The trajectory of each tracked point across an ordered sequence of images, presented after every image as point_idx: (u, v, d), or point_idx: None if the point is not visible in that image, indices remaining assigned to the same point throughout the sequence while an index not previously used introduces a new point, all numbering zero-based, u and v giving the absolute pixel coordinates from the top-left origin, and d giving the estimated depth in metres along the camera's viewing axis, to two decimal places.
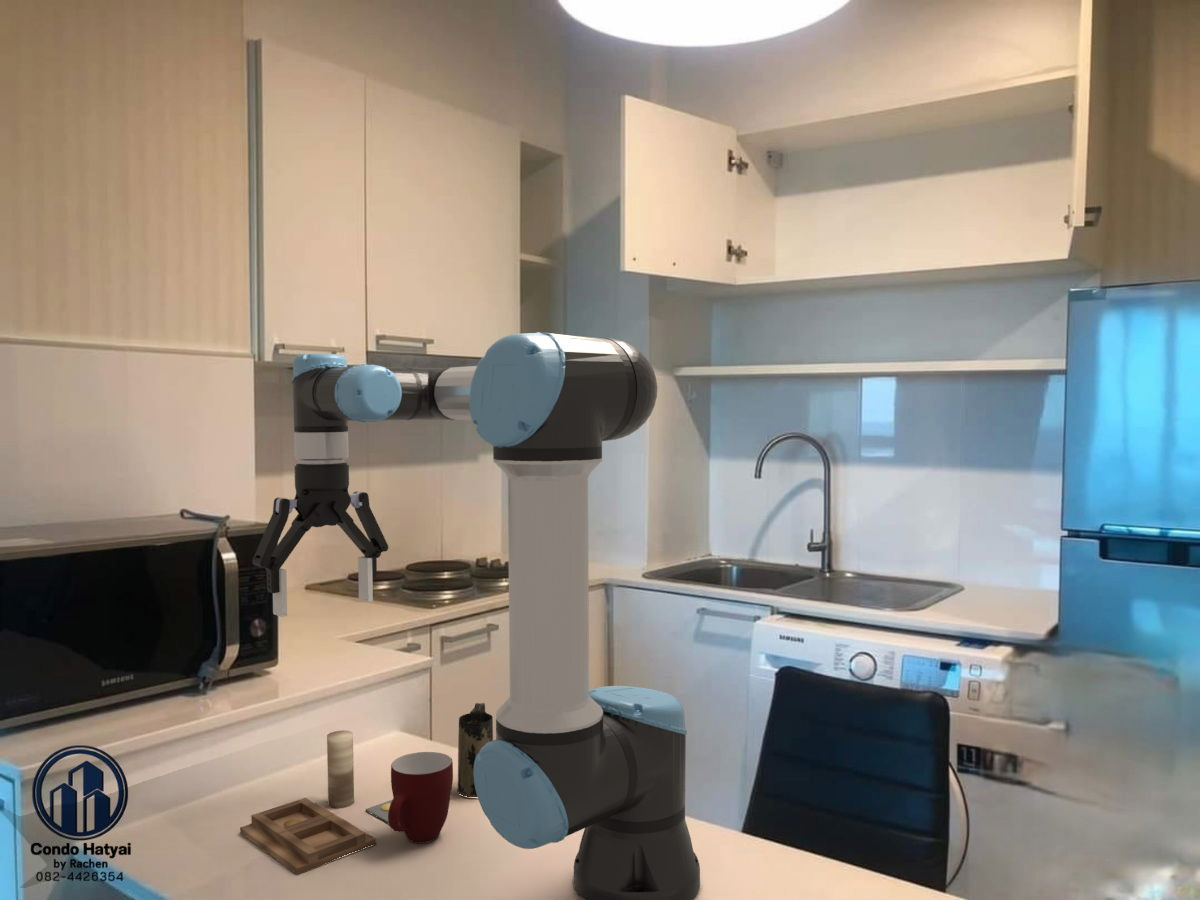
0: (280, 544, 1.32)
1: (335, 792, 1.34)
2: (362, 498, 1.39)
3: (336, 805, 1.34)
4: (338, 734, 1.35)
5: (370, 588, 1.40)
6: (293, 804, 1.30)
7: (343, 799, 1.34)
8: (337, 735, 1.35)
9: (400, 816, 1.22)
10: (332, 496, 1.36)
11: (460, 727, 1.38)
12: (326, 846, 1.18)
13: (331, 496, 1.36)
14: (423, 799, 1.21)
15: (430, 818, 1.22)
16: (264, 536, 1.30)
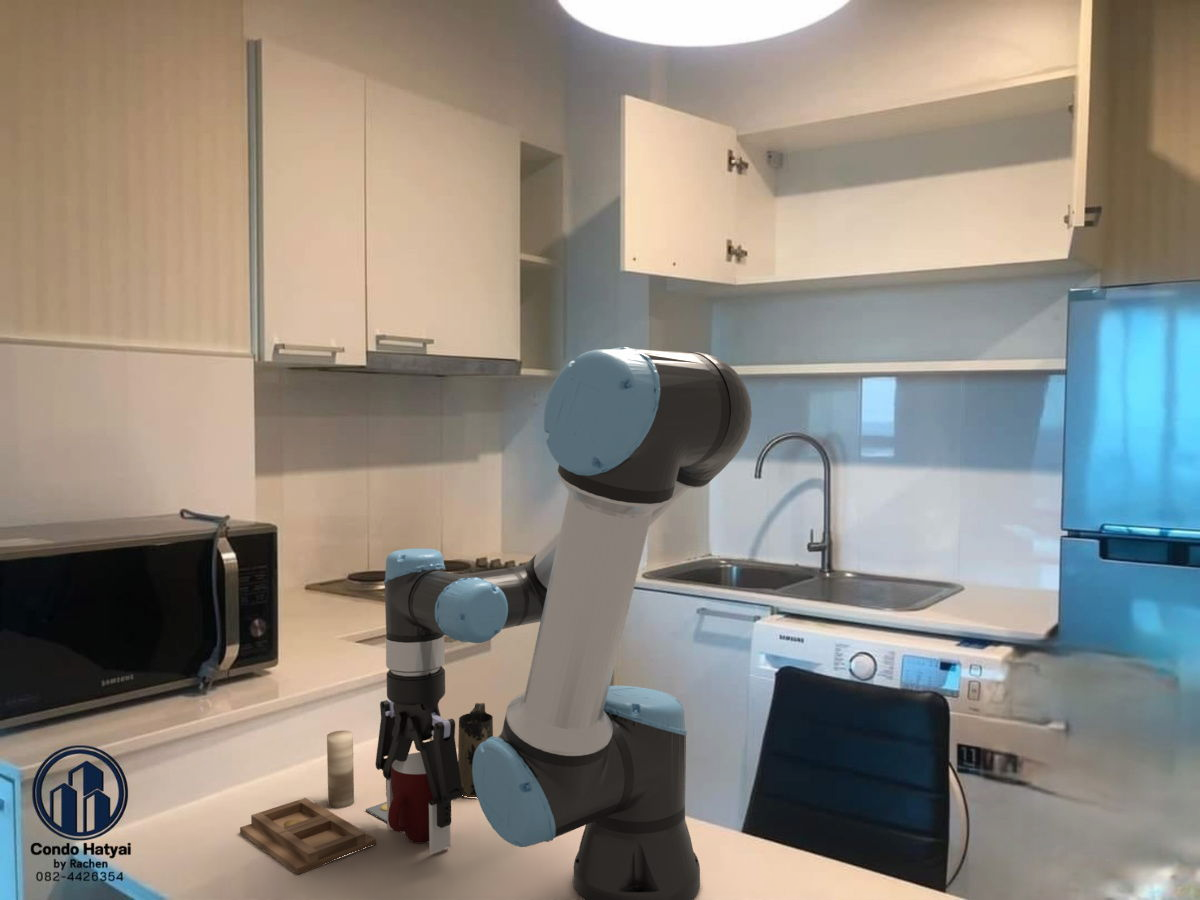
0: None
1: (335, 792, 1.34)
2: (435, 728, 1.18)
3: (336, 805, 1.34)
4: (338, 734, 1.35)
5: (431, 837, 1.19)
6: (293, 804, 1.30)
7: (343, 799, 1.34)
8: (337, 735, 1.35)
9: (400, 816, 1.22)
10: (414, 706, 1.21)
11: (460, 727, 1.38)
12: (326, 846, 1.18)
13: (413, 705, 1.21)
14: (423, 799, 1.21)
15: None
16: None
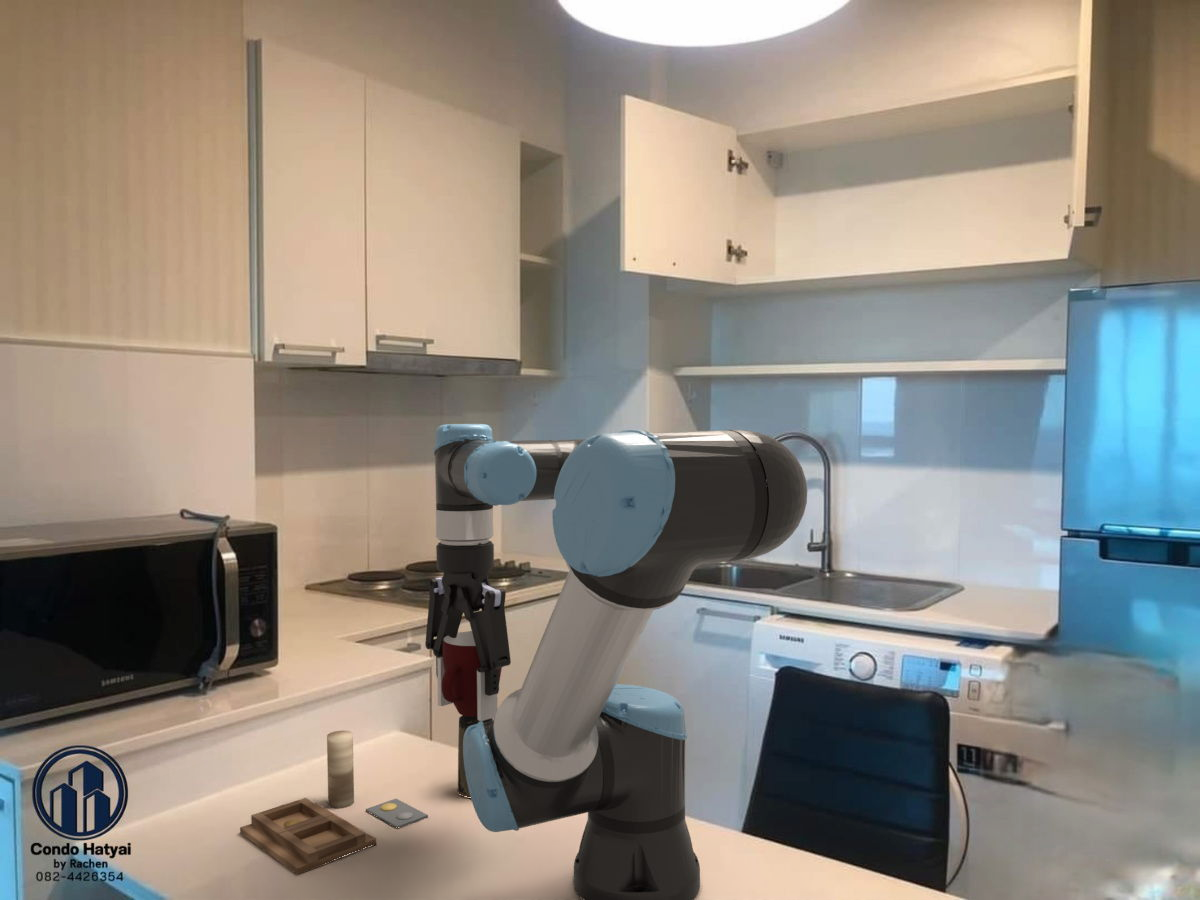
0: None
1: (335, 792, 1.34)
2: (486, 596, 1.20)
3: (336, 805, 1.34)
4: (338, 734, 1.35)
5: (479, 705, 1.21)
6: (293, 804, 1.30)
7: (343, 799, 1.34)
8: (337, 735, 1.35)
9: (452, 689, 1.23)
10: (464, 576, 1.23)
11: (460, 727, 1.38)
12: (326, 846, 1.18)
13: (464, 576, 1.23)
14: (476, 670, 1.22)
15: None
16: None
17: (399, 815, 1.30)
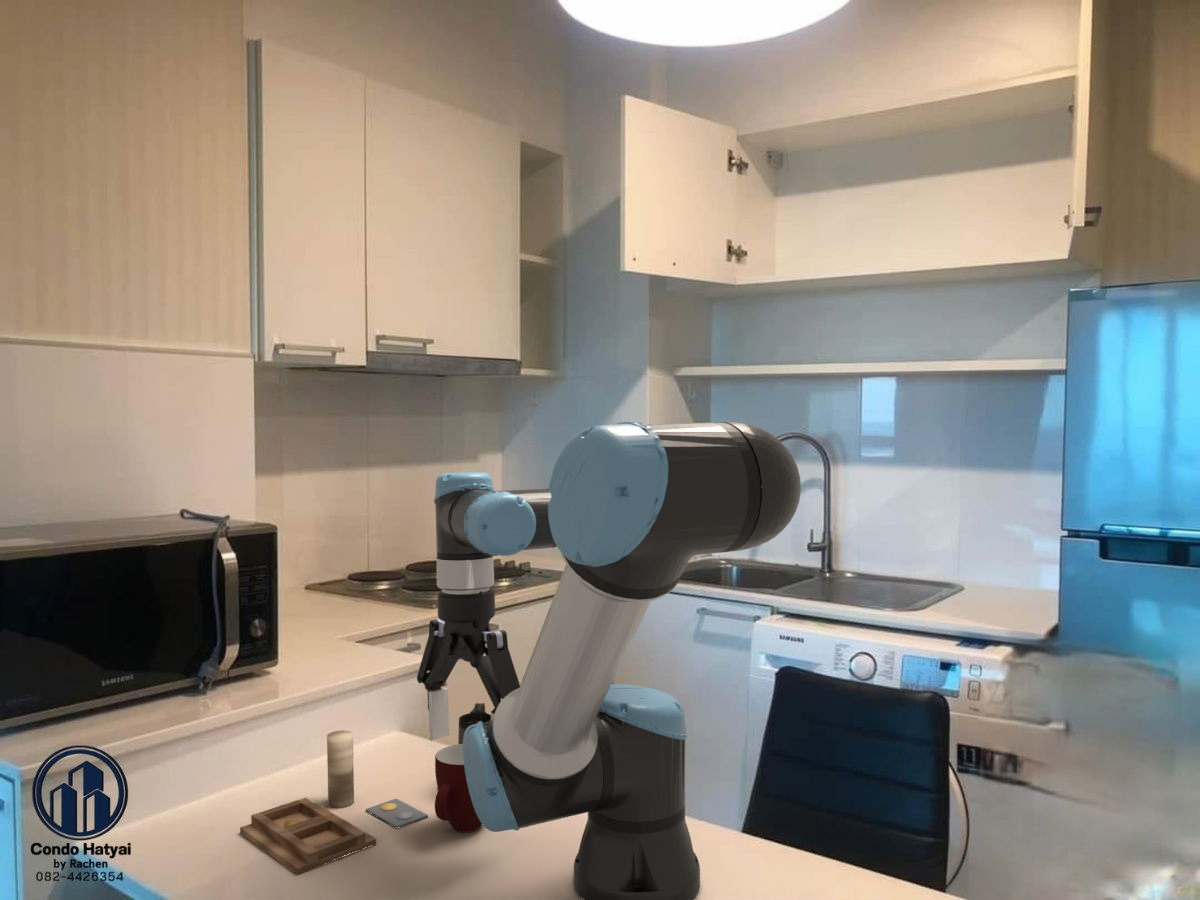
0: None
1: (335, 792, 1.34)
2: (487, 639, 1.20)
3: (336, 805, 1.34)
4: (338, 734, 1.35)
5: None
6: (293, 804, 1.30)
7: (343, 799, 1.34)
8: (337, 735, 1.35)
9: (445, 806, 1.25)
10: (464, 629, 1.23)
11: (460, 727, 1.38)
12: (326, 846, 1.18)
13: (463, 628, 1.23)
14: None
15: None
16: None
17: (399, 815, 1.30)
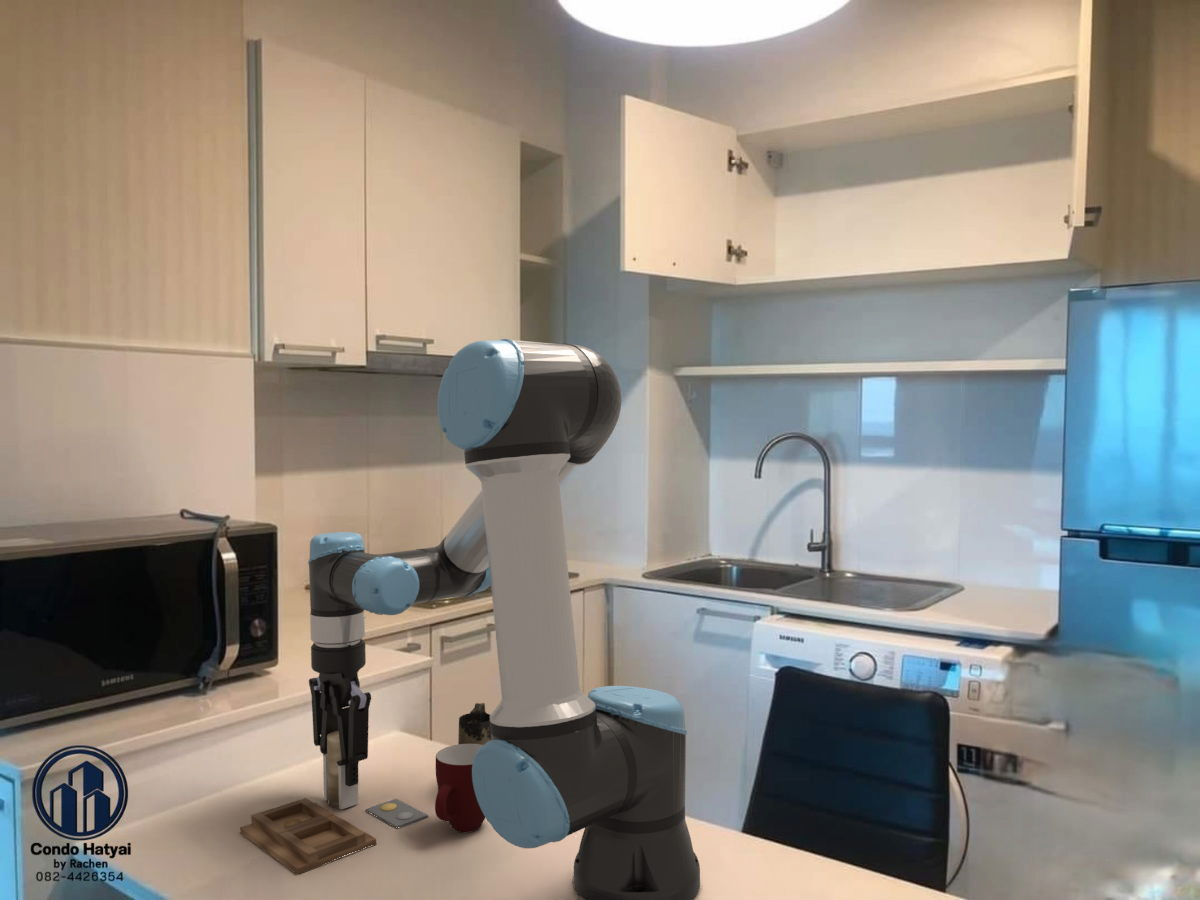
0: None
1: (335, 792, 1.34)
2: (352, 699, 1.30)
3: (336, 805, 1.34)
4: (338, 734, 1.35)
5: (340, 794, 1.33)
6: (293, 804, 1.30)
7: None
8: (337, 735, 1.35)
9: (445, 806, 1.25)
10: (337, 673, 1.33)
11: (460, 727, 1.38)
12: (326, 846, 1.18)
13: None
14: (468, 789, 1.24)
15: (474, 808, 1.25)
16: None
17: (399, 815, 1.30)
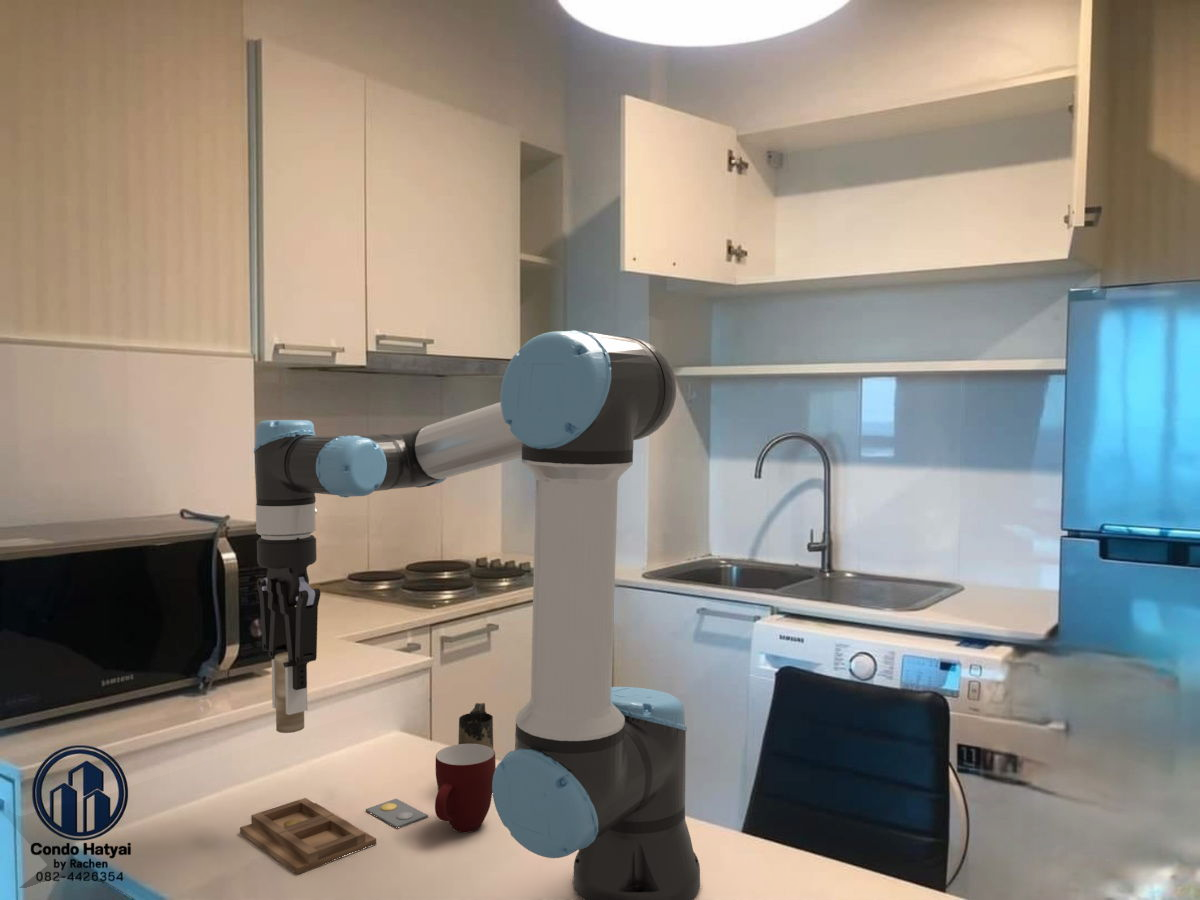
0: None
1: (283, 716, 1.25)
2: None
3: (284, 730, 1.25)
4: (287, 654, 1.26)
5: (286, 699, 1.24)
6: (293, 804, 1.30)
7: (292, 723, 1.25)
8: (286, 655, 1.26)
9: (445, 806, 1.25)
10: (285, 568, 1.24)
11: (460, 727, 1.38)
12: (326, 846, 1.18)
13: (284, 567, 1.24)
14: (468, 789, 1.24)
15: (474, 808, 1.25)
16: None
17: (399, 815, 1.30)
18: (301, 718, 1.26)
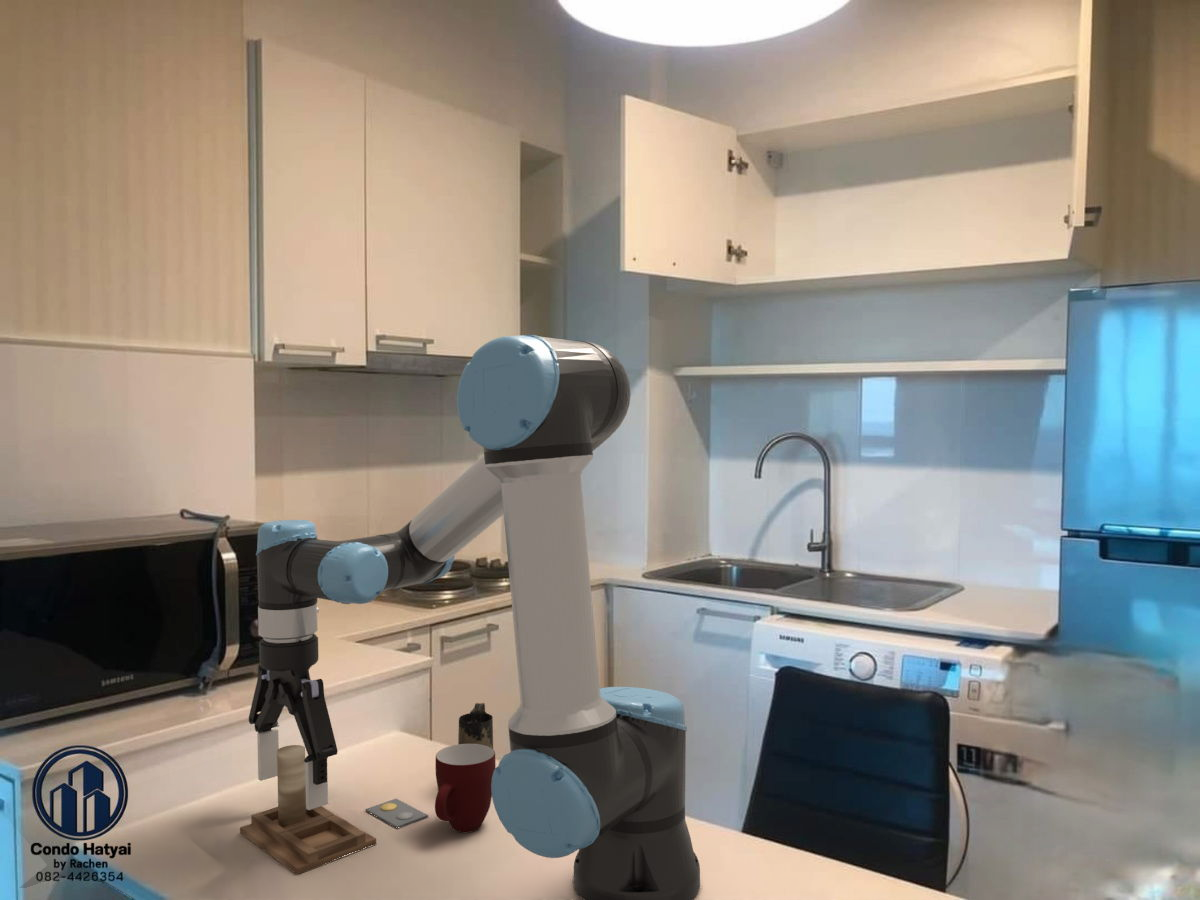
0: None
1: (286, 812, 1.25)
2: (303, 688, 1.21)
3: (286, 825, 1.26)
4: (289, 749, 1.27)
5: (307, 794, 1.21)
6: None
7: (294, 819, 1.26)
8: (288, 750, 1.27)
9: (445, 806, 1.25)
10: (285, 676, 1.25)
11: (460, 727, 1.38)
12: (326, 846, 1.18)
13: (284, 675, 1.25)
14: (468, 789, 1.24)
15: (474, 808, 1.25)
16: None
17: (399, 815, 1.30)
18: (303, 813, 1.27)
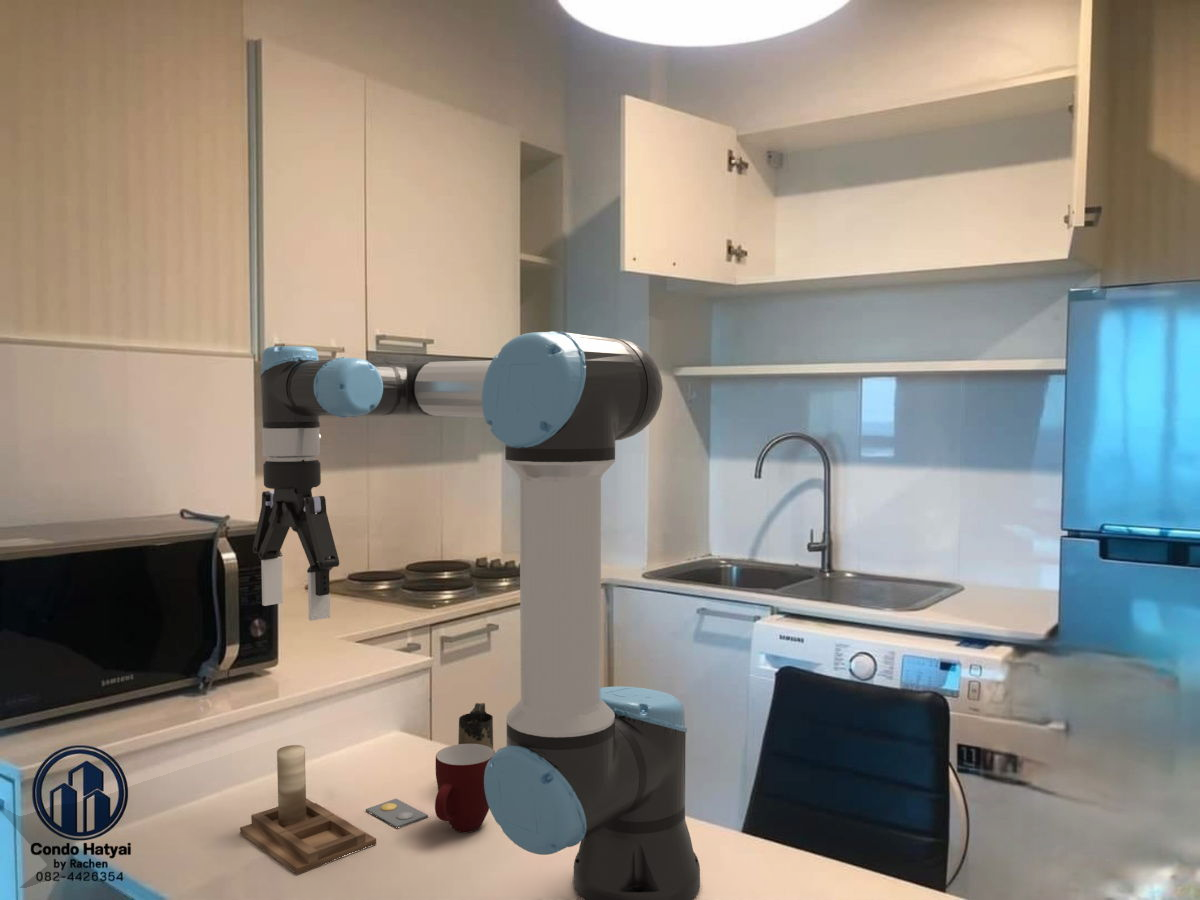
0: None
1: (286, 812, 1.25)
2: (306, 503, 1.25)
3: (286, 825, 1.26)
4: (289, 749, 1.27)
5: (309, 605, 1.25)
6: None
7: (294, 819, 1.26)
8: (288, 750, 1.27)
9: (445, 806, 1.25)
10: (288, 496, 1.29)
11: (460, 727, 1.38)
12: (326, 846, 1.18)
13: (288, 496, 1.29)
14: (468, 789, 1.24)
15: (474, 808, 1.25)
16: None
17: (399, 815, 1.30)
18: (303, 813, 1.27)
